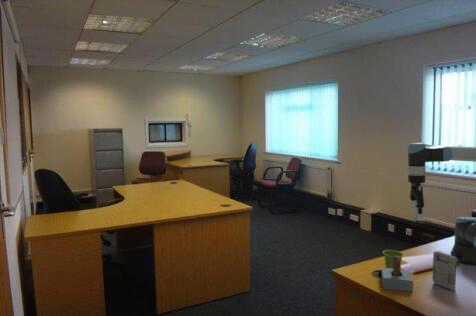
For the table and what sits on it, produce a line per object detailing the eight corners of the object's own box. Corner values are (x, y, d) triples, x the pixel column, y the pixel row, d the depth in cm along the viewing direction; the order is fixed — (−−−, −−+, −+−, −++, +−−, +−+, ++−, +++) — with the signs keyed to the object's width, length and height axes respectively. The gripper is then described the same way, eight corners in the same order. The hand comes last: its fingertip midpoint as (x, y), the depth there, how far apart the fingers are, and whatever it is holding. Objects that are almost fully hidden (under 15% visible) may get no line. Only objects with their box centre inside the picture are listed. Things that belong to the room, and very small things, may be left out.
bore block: (408, 280, 170) (409, 270, 170) (412, 291, 159) (413, 280, 159) (381, 277, 174) (381, 267, 174) (383, 288, 163) (383, 277, 162)
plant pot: (393, 265, 189) (393, 249, 188) (407, 272, 180) (407, 255, 179) (378, 267, 186) (378, 251, 185) (391, 274, 177) (392, 257, 176)
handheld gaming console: (456, 289, 161) (457, 256, 159) (451, 291, 159) (452, 258, 158) (436, 281, 169) (437, 250, 167) (431, 283, 167) (432, 251, 166)
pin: (399, 281, 167) (400, 256, 166) (400, 284, 164) (401, 258, 163) (392, 280, 168) (393, 255, 167) (392, 283, 165) (393, 257, 164)
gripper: (403, 170, 192) (404, 210, 194) (413, 178, 168) (413, 223, 170) (419, 170, 190) (419, 210, 192) (431, 178, 166) (431, 223, 168)
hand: (416, 216), depth 181 cm, fingers open, 13 cm apart
